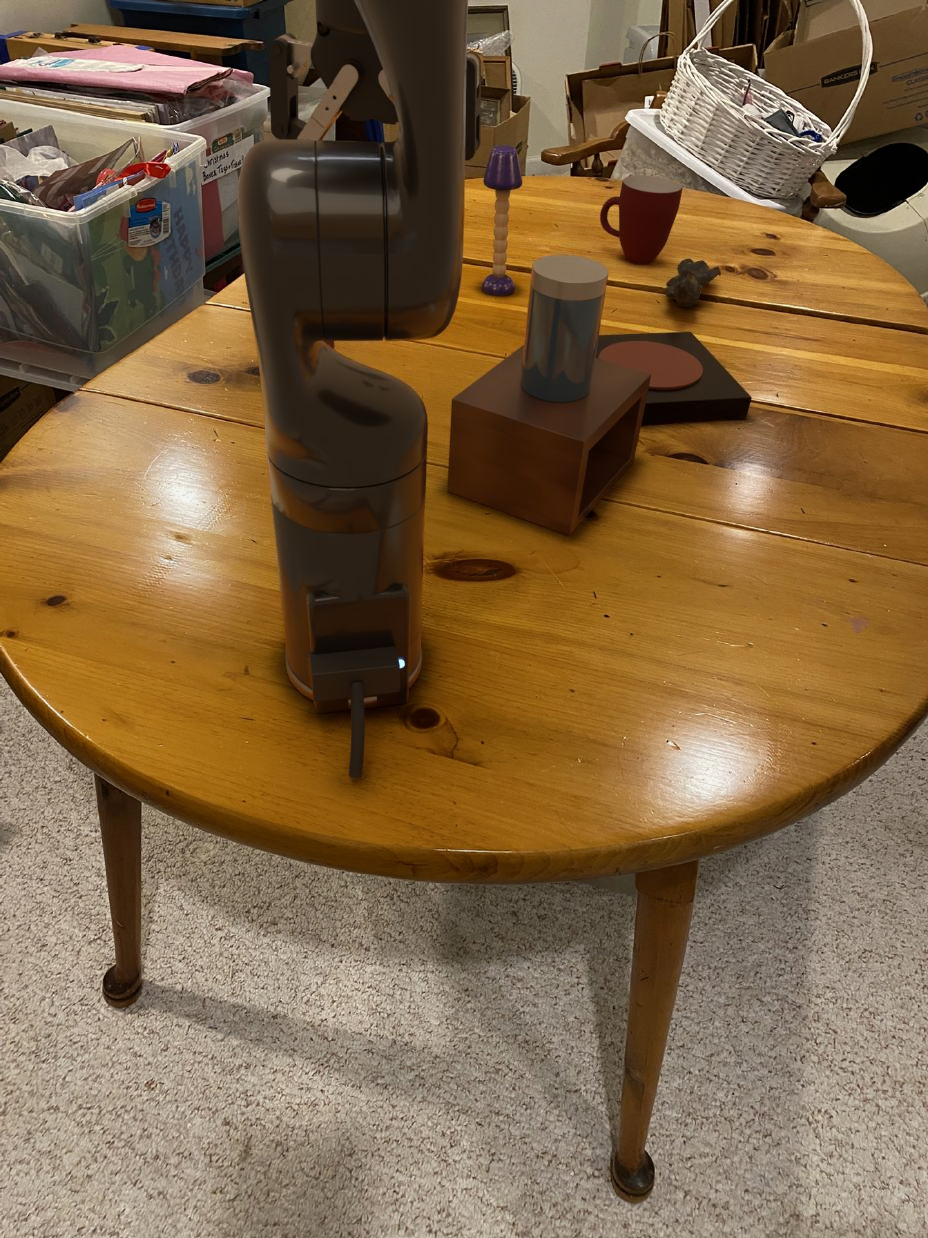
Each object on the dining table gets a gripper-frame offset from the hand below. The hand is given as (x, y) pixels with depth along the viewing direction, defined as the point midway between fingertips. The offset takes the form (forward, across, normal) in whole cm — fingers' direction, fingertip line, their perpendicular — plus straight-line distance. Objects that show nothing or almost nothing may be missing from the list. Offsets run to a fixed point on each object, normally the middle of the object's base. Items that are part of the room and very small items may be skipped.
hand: (376, 211), depth 67 cm
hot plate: (+24, +23, +26) cm, 42 cm away
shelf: (+23, +14, +5) cm, 28 cm away
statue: (+24, +28, +51) cm, 63 cm away
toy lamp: (+24, +4, +48) cm, 54 cm away
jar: (+14, +14, +5) cm, 21 cm away
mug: (+24, +20, +65) cm, 73 cm away
